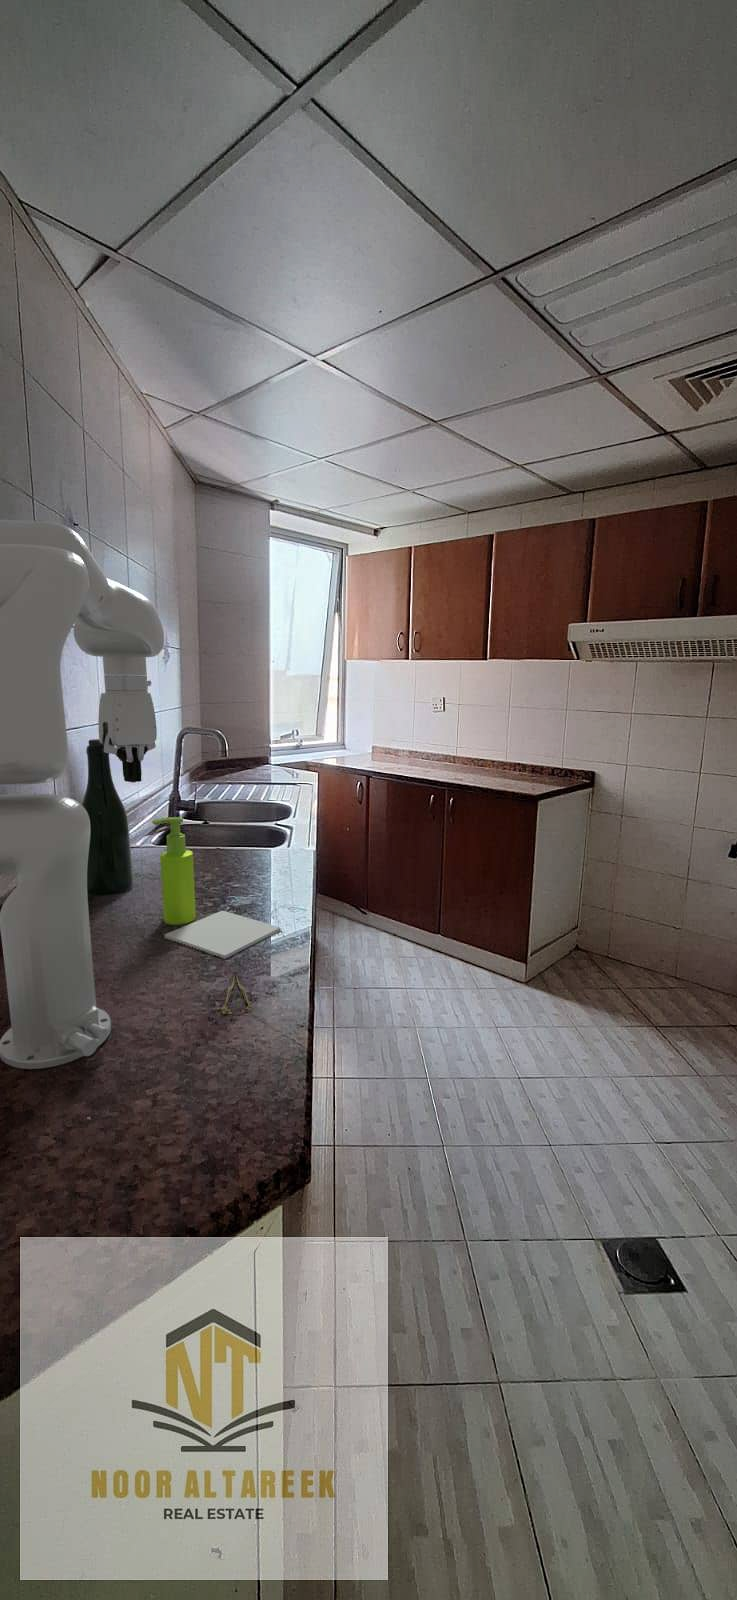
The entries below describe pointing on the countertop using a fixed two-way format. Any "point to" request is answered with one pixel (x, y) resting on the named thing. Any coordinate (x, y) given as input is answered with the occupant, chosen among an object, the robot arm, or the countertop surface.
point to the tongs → (235, 976)
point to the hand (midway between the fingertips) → (132, 781)
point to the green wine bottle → (106, 829)
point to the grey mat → (223, 933)
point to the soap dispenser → (177, 876)
